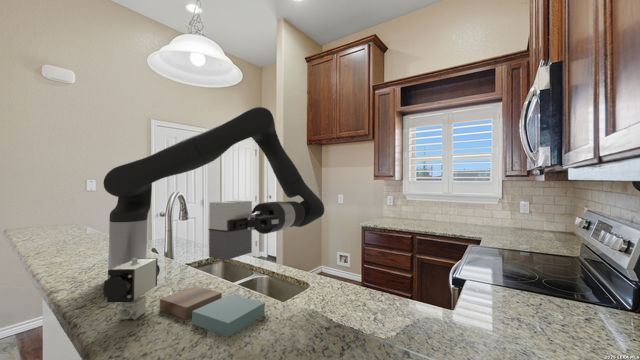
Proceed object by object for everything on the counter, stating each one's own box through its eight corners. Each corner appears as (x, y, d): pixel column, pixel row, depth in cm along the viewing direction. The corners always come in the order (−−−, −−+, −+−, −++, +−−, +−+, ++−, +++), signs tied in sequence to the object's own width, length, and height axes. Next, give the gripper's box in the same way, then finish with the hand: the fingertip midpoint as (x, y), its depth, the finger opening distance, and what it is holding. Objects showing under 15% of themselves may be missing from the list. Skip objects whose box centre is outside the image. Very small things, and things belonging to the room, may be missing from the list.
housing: (208, 257, 54) (208, 202, 54) (235, 249, 60) (235, 200, 61) (226, 260, 52) (226, 203, 52) (252, 252, 58) (252, 201, 58)
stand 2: (191, 323, 54) (192, 311, 54) (230, 304, 62) (230, 293, 62) (228, 337, 49) (228, 323, 49) (264, 314, 58) (264, 302, 58)
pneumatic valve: (160, 304, 63) (161, 251, 63) (126, 330, 51) (128, 266, 51) (135, 304, 62) (136, 252, 63) (95, 331, 51) (97, 266, 51)
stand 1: (159, 310, 59) (160, 298, 60) (195, 296, 67) (196, 286, 67) (186, 319, 55) (186, 307, 55) (221, 303, 63) (221, 292, 63)
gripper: (252, 201, 72) (197, 205, 57) (297, 202, 66) (248, 207, 51) (252, 229, 72) (196, 240, 57) (297, 233, 65) (247, 247, 50)
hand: (221, 224), depth 54 cm, fingers closed on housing, 5 cm apart
